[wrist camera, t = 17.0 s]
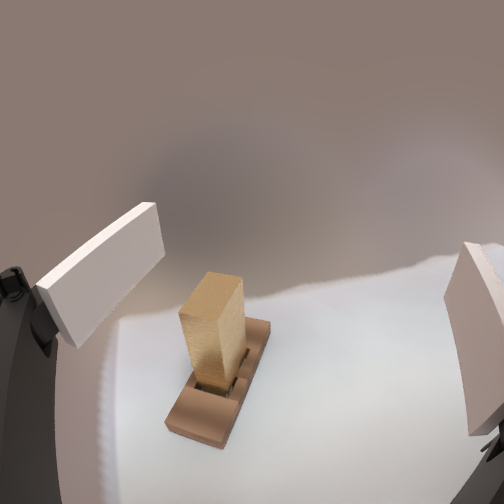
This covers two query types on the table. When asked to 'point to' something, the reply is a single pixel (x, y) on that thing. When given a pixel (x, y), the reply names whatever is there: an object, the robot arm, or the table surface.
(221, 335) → the tall wooden block
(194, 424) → the slotted wooden base
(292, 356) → the table surface
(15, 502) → the robot arm
